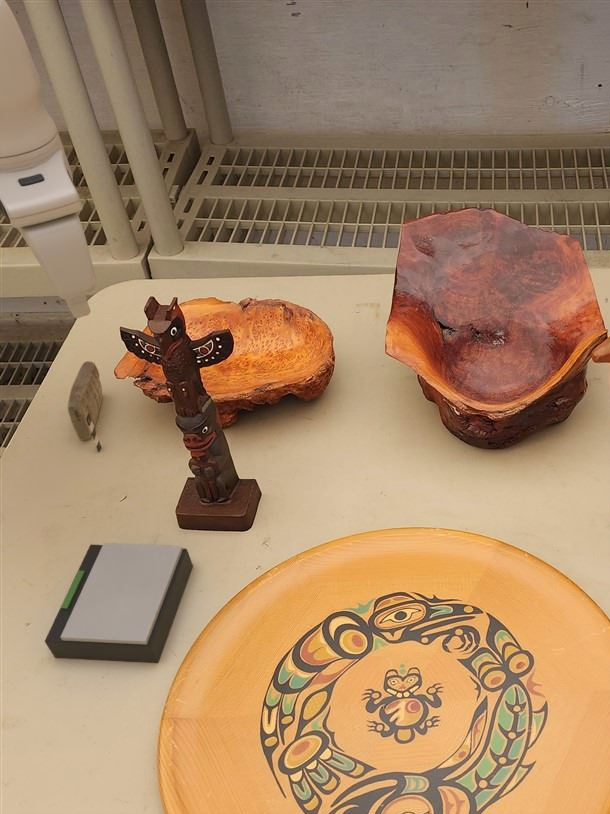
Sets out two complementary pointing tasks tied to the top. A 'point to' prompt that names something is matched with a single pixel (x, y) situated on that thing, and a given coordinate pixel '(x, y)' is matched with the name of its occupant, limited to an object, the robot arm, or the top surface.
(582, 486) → the top surface
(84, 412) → the brown stone with scale
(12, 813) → the top surface
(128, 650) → the scale
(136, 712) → the top surface
